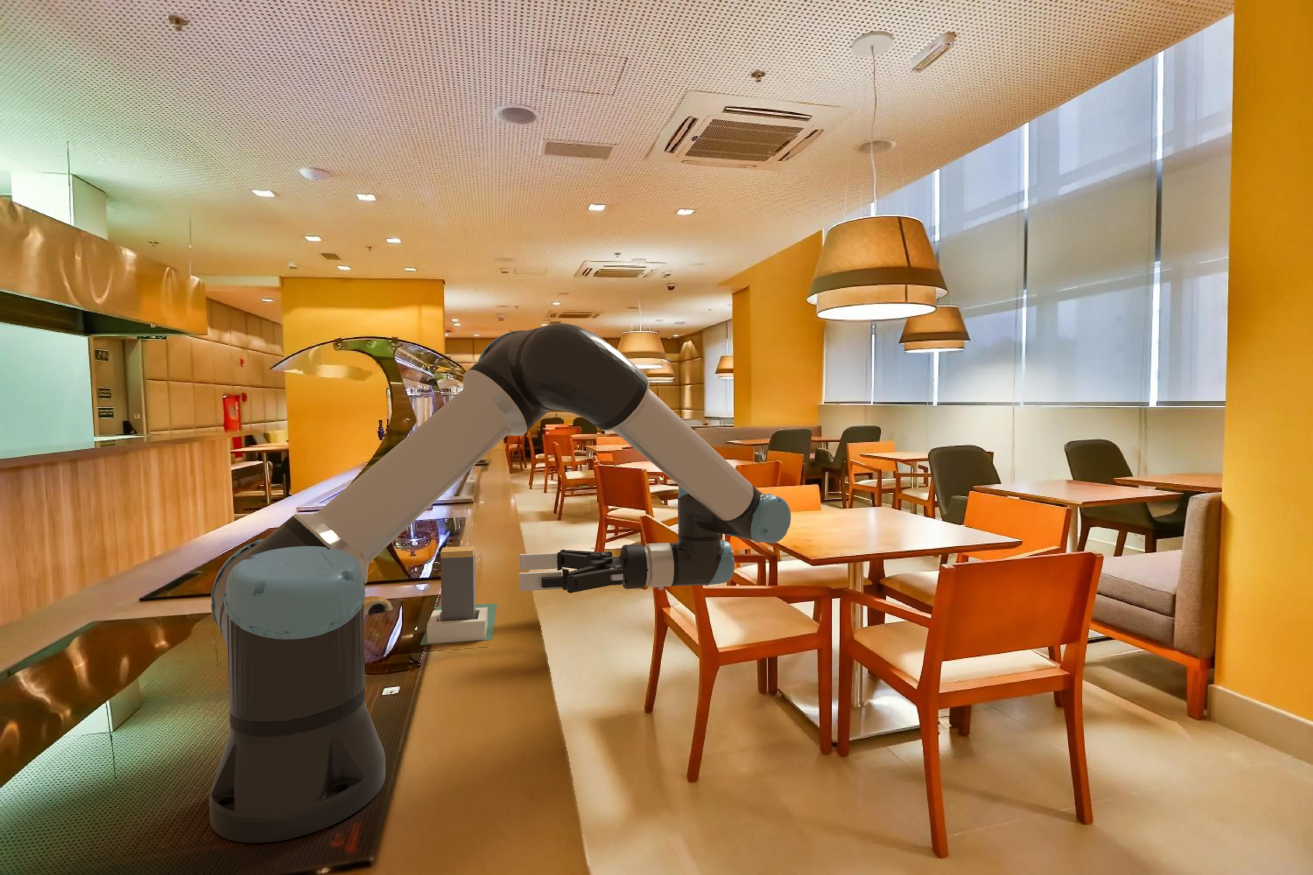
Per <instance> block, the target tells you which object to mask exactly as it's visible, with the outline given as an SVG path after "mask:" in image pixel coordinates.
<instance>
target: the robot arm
mask: <svg viewBox="0 0 1313 875" xmlns="http://www.w3.org/2000/svg"><path fill="white" fill-rule="evenodd" d="M462 381H463V387H462V390H461V391H459V392H458V393H457V394H455V395H454V396H453V397H452V398H451V399H450V400H448V401H447V402H446V403H444V405H443V406H442V407H440V408H438V410H437V411H436V412H434V413H433V414H432V415H430V417H428V418H427V419H426V420H425V421H424V422H422V423H421V424H420V425H419V426H417V427H416V428H415V429H414V430H413V431H412V432H410V434H408V435H407V436H406V437H405V438H404V439H402V440H401V441H400V442H399V443H398V444H396V445H395V446H394V447H393V448H392V449H391V450H389V451H388V452H387V453H386V454H384V455H383V456H382V457H381V458H380V459H379V460H378V461H376V462H375V463H374V464H373V465H372V466H370V467H369V468H368V469H367V470H365V472H363V473H362V474H361V475H360V476H358V477H357V478H356V479H355V480H354V481H353V482H351V483H350V484H349V485H348V486H346V488H344V489H342V491H341V492H340V493H339V494H337V495H336V496H335V497H334V498H332V500H330V501H329V502H328V503H327V504H325V505H324V506H323V507H322V508H320V509H319V510H318V511H317V512H314V513H294V514H293V515H291V516H290V517H289V518H288V519H287V520H285V522H282V524H280V525H279V526H278V527H277V528H276V529H275V530H273V531H272V532H270V534H268V535H267V536H266V537H265V538H261V539H257V540H255V541H254V542H251V543H248V544H246V545H244V546H243V547H241V548H239V549H238V550H237V551H235V552H234V553H232V555H230V557H228V559H226V561H224V563H223V565H222V566H221V567H220V569H219V571H218V573H217V575H216V577H215V579H214V582H213V586H212V589H211V592H210V593H211V594H210V599H211V600H210V601H211V603H210V608H211V612H212V613H211V614H212V618H213V620H214V621H215V623H216V625H217V627H218V629H219V630H220V634H221V636H222V638H223V641H224V643H225V646H226V654H227V669H228V670H227V673H228V674H227V675H228V676H227V677H228V703H229V704H228V706H229V707H228V708H229V710H228V711H229V712H228V714H229V732H228V737H227V740H226V743H225V746H224V749H223V752H222V755H221V757H220V761H219V764H218V767H217V770H216V772H215V776H214V779H213V782H212V785H211V788H210V791H209V796H208V798H209V799H208V808H209V810H208V811H209V812H208V814H209V825H210V827H211V829H212V830H213V831H214V832H215V833H216V834H217V835H218V836H220V837H223V838H224V839H227V840H228V841H229V840H230V841H232V842H233V841H234V842H238V843H239V842H240V843H246V844H247V843H249V844H252V843H253V844H254V843H255V844H258V843H259V844H260V843H262V844H263V843H272V842H280V841H286V840H292V839H295V838H298V837H303V836H305V835H310V834H313V833H317V832H319V831H321V830H323V829H326V828H328V827H331V826H333V825H336V824H337V823H340V822H342V821H343V820H346V819H348V817H351V816H352V815H354V814H355V813H357V812H359V811H360V810H361V809H363V808H364V807H366V805H368V804H369V803H370V802H371V801H372V800H374V798H375V797H376V796H377V795H378V793H379V792H380V791H381V790H382V788H383V786H384V783H385V780H386V754H385V750H384V746H383V744H382V741H381V739H380V737H379V734H378V731H377V729H376V727H375V725H374V722H373V719H372V717H371V714H370V712H369V709H368V706H367V705H366V667H365V666H366V662H365V659H366V658H365V657H366V656H365V651H366V650H365V616H364V599H365V597H366V586H365V584H367V583H368V574H369V565H370V563H371V562H372V561H373V560H374V559H375V558H376V557H377V556H378V555H379V554H381V552H383V550H385V549H386V548H388V546H389V545H390V544H391V543H392V542H393V541H394V540H396V538H398V537H399V536H400V535H401V534H402V533H403V532H404V531H405V530H406V529H408V528H409V526H411V525H412V524H413V523H414V522H415V521H416V520H417V519H418V518H419V517H420V516H421V515H422V514H424V513H425V512H426V511H427V510H428V509H429V508H430V507H431V506H432V505H433V504H435V503H436V501H438V500H439V499H440V498H441V497H442V496H444V494H445V493H447V491H449V489H451V488H452V487H453V486H454V485H455V484H456V483H457V482H458V481H459V480H460V479H461V478H462V477H463V476H465V475H466V474H467V473H468V472H469V471H470V470H471V469H472V468H473V467H474V466H476V464H478V463H479V462H480V461H481V460H482V459H483V458H484V457H485V456H486V455H487V454H488V453H490V452H491V451H492V450H493V448H495V447H496V446H497V445H498V444H499V443H500V442H502V440H503V439H505V438H506V437H508V436H515V437H516V436H517V437H521V436H523V435H525V434H527V432H528V431H530V429H531V428H533V427H534V425H535V424H537V423H538V422H539V421H540V420H541V419H542V418H543V417H544V416H545V415H547V414H548V413H549V412H566V413H570V414H574V415H576V416H578V417H581V418H584V419H585V420H587V421H589V422H590V423H591V424H592V425H594V426H595V427H596V428H597V429H599V430H600V431H603V432H609V431H613V432H614V433H615V434H616V435H617V436H619V437H620V438H621V439H623V441H625V442H626V443H627V444H628V445H629V446H631V447H632V448H633V449H635V451H637V452H638V453H639V454H641V456H643V457H644V458H645V459H647V460H648V461H649V462H650V463H652V465H654V466H655V467H656V468H657V469H659V470H660V471H661V472H662V473H664V474H665V475H666V476H667V477H668V478H669V479H671V480H672V481H673V482H674V483H676V484H677V485H678V489H677V490H678V494H677V497H676V499H677V529H678V530H677V542H656V543H655V542H654V543H653V542H652V543H651V542H650V543H646V544H645V546H644V545H642V543H637V544H636V543H635V544H631V543H630V544H624V545H622V546H621V549H620V555H619V556H613V552H612V551H610V550H609V551H589V550H576V549H575V550H574V549H573V550H572V549H560V551H557V552H544V553H543V552H541V553H520V554H519V571H526V572H519V580H518V581H519V583H518V584H519V588H518V589H519V592H528V591H529V592H530V591H531V592H532V591H546V590H547V591H548V590H564V591H566V592H567V593H568V594H573V593H579V592H583V591H589V590H594V589H600V588H603V587H609V586H620V585H622V588H623V589H625V590H635V589H638V590H639V589H644V588H645V587H646V586H647V587H648V588H650V589H651V588H658V590H659V591H662V590H664V589H665V588H664V587H666V588H667V587H668V588H669V587H686V586H691V587H692V586H693V587H694V586H706V587H709V586H712V585H713V586H714V585H720V584H721V585H722V584H726V583H728V582H729V581H731V580H732V578H733V575H734V572H735V568H736V567H735V566H736V563H735V558H734V555H735V554H734V549H733V547H732V545H731V544H730V542H729V541H727V540H722V539H721V538H722V537H721V536H722V535H726V536H731V537H735V538H739V539H744V540H749V541H751V542H755V543H766V544H776V543H778V542H780V541H781V540H783V538H784V537H785V536H786V535H787V533H788V531H789V528H790V527H791V521H792V513H791V509H790V506H789V504H788V502H787V501H786V500H785V499H784V498H782V497H781V496H778V495H773V493H772V494H771V493H764V492H761V491H760V490H759V489H757V487H756V486H754V484H752V483H751V482H750V481H749V480H748V479H747V478H745V477H744V476H743V475H742V474H741V473H740V471H738V470H737V469H736V468H735V467H734V466H733V465H732V464H730V462H728V461H727V460H726V459H725V457H723V456H722V455H721V454H720V453H719V452H718V451H717V450H715V449H714V448H713V447H712V446H711V445H710V444H709V443H708V442H707V441H706V440H705V439H703V437H702V436H701V435H700V434H698V433H697V432H696V431H695V430H694V429H693V428H692V427H691V426H690V425H689V424H688V423H687V422H685V421H684V420H683V418H681V417H680V415H678V414H677V413H676V412H675V411H673V410H672V409H671V408H670V407H669V406H668V405H667V403H665V402H664V401H663V400H662V399H661V398H660V397H659V396H658V395H656V394H655V393H654V392H653V391H652V390H651V389H650V380H649V378H648V376H647V375H646V374H645V373H644V372H643V371H642V370H641V369H639V367H638V366H636V365H635V363H633V361H631V360H630V359H629V358H628V357H626V355H625V354H623V353H622V352H621V351H619V350H618V349H617V348H616V347H614V346H613V345H611V344H610V343H609V342H608V341H606V340H604V339H603V338H602V337H601V336H599V335H597V334H595V333H594V332H592V331H591V330H588V329H585V328H584V327H581V326H579V325H574V324H570V323H560V322H559V323H558V322H557V323H550V324H548V325H544V326H540V327H536V328H531V329H528V330H527V329H526V330H524V329H522V330H521V329H520V330H514V331H511V332H507V333H504V334H501V335H500V336H499V337H497V338H495V339H494V340H492V341H491V342H490V343H489V344H488V345H487V346H486V347H485V348H484V349H483V351H482V352H481V354H480V356H479V358H478V360H477V362H475V364H473V365H472V366H471V367H470V368H469V369H467V371H465V373H464V374H463V380H462ZM569 569H570V570H569ZM571 569H572V570H571ZM537 570H538V571H537ZM539 570H548V571H539ZM549 570H555V571H549ZM527 571H528V572H527ZM529 571H530V572H529ZM532 571H533V572H532Z"/></svg>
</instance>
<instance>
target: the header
mask: <svg viewBox="0 0 1313 875" xmlns="http://www.w3.org/2000/svg"><path fill="white" fill-rule="evenodd" d="M487 626H488V609H487V607H483V608H476V619H472V620H456V621H442V610H435V609H434V610H432V613H431V616H430V618H429V620H428V621H427V624H426V629H427V644H428V645H430V644H429V643H442V644H444V643H443V642H457V641H471V640H485V638H486V632H487ZM485 641H486V640H485ZM471 642H472V641H471ZM457 643H458V642H457Z"/></svg>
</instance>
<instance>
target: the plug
mask: <svg viewBox="0 0 1313 875" xmlns="http://www.w3.org/2000/svg"><path fill="white" fill-rule="evenodd" d="M440 592H441V593H440V594H441V596H440V597H441V598H440V600H441V602H440V603H441V605H440V607H441V610H442V621H456V620H472V619H476V604H477V603H476V601H477V600H476V546H475V545H471V546H470V545H469V546H449V547H448V546H446V547H442V548H441V551H440Z"/></svg>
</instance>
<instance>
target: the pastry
mask: <svg viewBox="0 0 1313 875" xmlns="http://www.w3.org/2000/svg"><path fill="white" fill-rule="evenodd" d="M392 610H394V607H393V606H392V603H391V602H390V601H389V600H388V599H386V598H385V597H384V596H378V595H369V596H365V599H364V617H365V616H371V615H373V614H377V613H379V612H382V611H384V612H390V611H392Z"/></svg>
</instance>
